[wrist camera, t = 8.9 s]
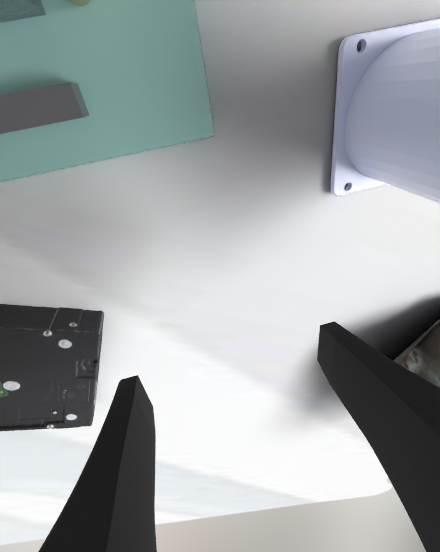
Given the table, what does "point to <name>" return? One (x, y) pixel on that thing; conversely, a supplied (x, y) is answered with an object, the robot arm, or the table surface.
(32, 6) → the dark grey block
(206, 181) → the table surface
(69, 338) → the disk drive
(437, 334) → the grey lumpy piece
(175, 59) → the teal peg board
